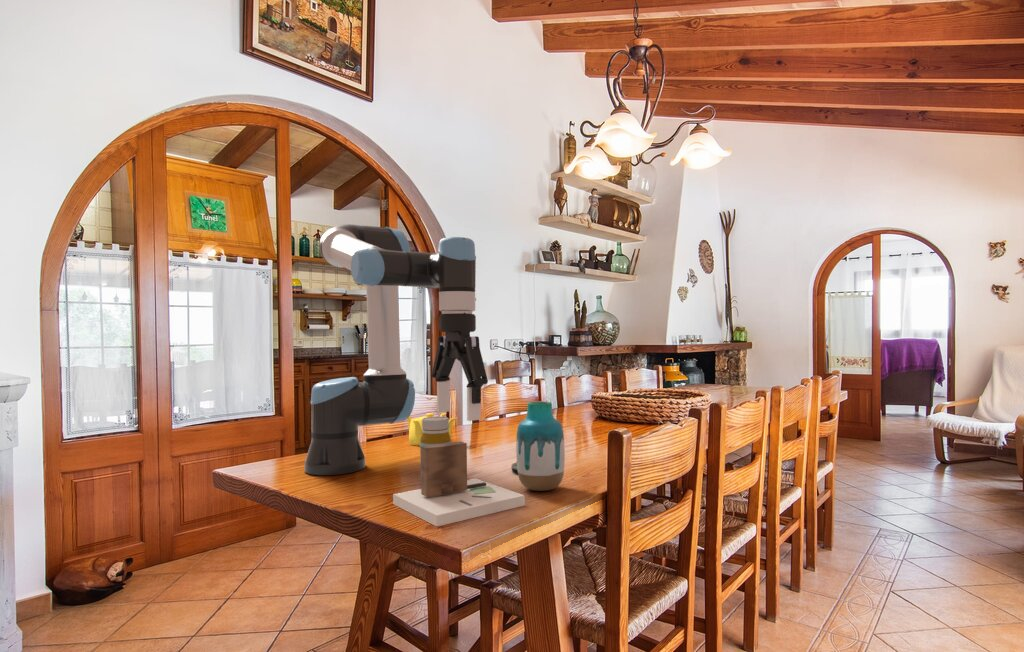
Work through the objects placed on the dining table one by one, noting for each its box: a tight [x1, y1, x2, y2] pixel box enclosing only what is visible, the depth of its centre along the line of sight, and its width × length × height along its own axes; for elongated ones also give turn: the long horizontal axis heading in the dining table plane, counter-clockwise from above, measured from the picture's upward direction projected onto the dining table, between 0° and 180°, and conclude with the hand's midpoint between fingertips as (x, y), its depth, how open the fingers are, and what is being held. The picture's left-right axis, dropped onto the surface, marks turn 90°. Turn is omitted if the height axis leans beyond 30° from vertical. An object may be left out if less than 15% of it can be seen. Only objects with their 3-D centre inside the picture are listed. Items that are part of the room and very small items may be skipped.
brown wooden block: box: [420, 441, 486, 497], centre depth 118 cm, size 14×4×10 cm, turn 122°
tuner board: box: [392, 478, 526, 527], centre depth 116 cm, size 18×20×2 cm
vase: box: [515, 400, 566, 492], centre depth 126 cm, size 11×11×19 cm
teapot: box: [406, 412, 458, 447], centre depth 183 cm, size 15×14×10 cm
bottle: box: [419, 416, 452, 455], centre depth 133 cm, size 7×7×15 cm
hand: (458, 415), depth 119 cm, fingers open, 13 cm apart
